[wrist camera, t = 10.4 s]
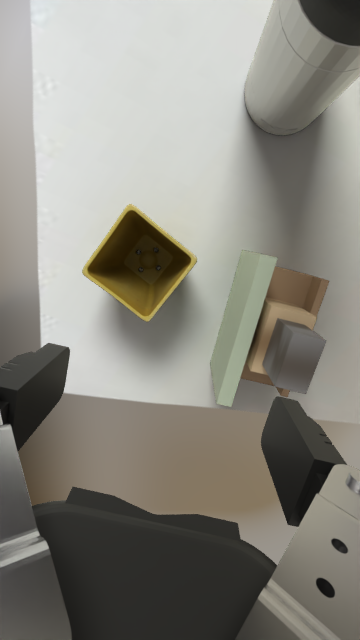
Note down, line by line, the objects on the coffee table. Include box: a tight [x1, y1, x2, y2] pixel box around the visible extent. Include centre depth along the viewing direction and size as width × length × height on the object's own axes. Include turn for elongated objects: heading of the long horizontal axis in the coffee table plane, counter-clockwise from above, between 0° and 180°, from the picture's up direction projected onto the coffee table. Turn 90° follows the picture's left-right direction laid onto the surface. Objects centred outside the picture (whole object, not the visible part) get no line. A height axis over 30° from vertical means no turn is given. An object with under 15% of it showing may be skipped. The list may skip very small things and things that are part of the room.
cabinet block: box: [246, 297, 326, 394], centre depth 32 cm, size 7×5×11 cm, turn 166°
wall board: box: [210, 250, 329, 407], centre depth 36 cm, size 16×9×11 cm, turn 167°
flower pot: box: [82, 204, 197, 322], centre depth 36 cm, size 9×9×9 cm
